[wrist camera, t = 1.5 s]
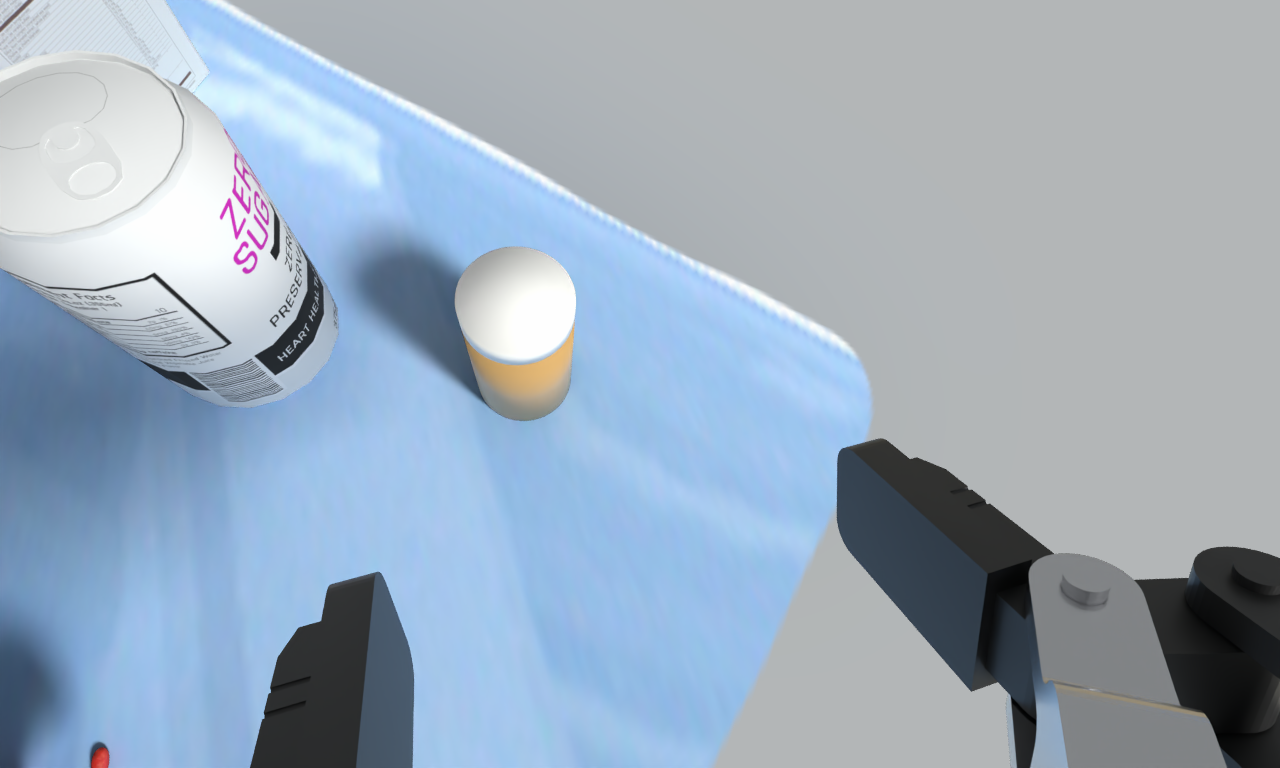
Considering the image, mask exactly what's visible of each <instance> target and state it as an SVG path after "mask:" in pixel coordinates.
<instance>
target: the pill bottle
mask: <svg viewBox="0 0 1280 768" xmlns="http://www.w3.org/2000/svg"><path fill="white" fill-rule="evenodd" d="M575 308H576V295H575V289H574V286H573V283H572V280H571V278H570V276H569V275H568V273H567V272H566V270H565V269H564V268H563V267H562V266H561V265H560V264H559V263H558V262H557V261H556V260H555V259H553V258H552V257H550V256H549V255H547V254H545V253H543V252H540V251H538V250H535V249H531V248H526V247H504V248H500V249H496V250H493V251H490V252H488V253H486V254H484V255H482V256H480V257H479V258H477V259H476V260H475V261H474V262H472V263H471V264H470V265H469V266H468V267H467V268H466V270H465V271H464V273H463V274H462V276H461V278H460V279H459V282H458V284H457V287H456V292H455V309H456V313H457V317H458V320H459V324H460V327H461V330H462V334H463V337H464V340H465V344H466V347H467V350H468V354H469V357H470V360H471V363H472V367H473V370H474V373H475V377H476V380H477V383H478V387H479V390H480V393H481V395H482V397H483V399H484V401H485V402H486V403H487V405H488V406H489V407H490V408H491V409H492V410H494V411H495V412H496V413H498V414H500V415H501V416H503V417H506V418H508V419H512V420H518V421H529V420H535V419H539V418H542V417H544V416H546V415H548V414H550V413H551V412H553V411H554V410H555V409H556V408H557V407H558V406H559V405H560V404H561V403H562V402H563V400H564V399H565V397H566V395H567V393H568V390H569V387H570V381H571V367H572V353H573V338H574V323H575Z"/></svg>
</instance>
